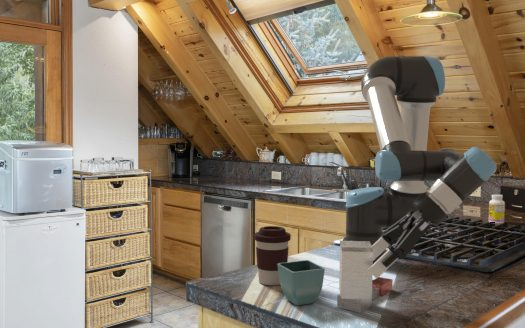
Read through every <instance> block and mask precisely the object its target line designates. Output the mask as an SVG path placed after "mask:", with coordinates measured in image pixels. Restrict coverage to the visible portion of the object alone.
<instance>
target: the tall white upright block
mask: <svg viewBox="0 0 525 328" xmlns="http://www.w3.org/2000/svg"><path fill="white" fill-rule="evenodd" d="M372 265H373V247H372V245H371V243H370V242H369V241H344V240H339V281H338V283H339V285H338V286H339V287H338V290H339V294H340V295H341V298H342V299H371V300H372V280H373V275H372V274H371V273H370V272H369V271H368V269H369V268H370V267H371V266H372Z"/></svg>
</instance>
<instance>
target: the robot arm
mask: <svg viewBox="0 0 525 328" xmlns="http://www.w3.org/2000/svg"><path fill="white" fill-rule="evenodd" d="M360 83H361V84H360V86H361V87H360V88H361V90H360V91H361V94H362V97H363V99H364V101H366V102H367V103H368V107H369V112H370V116H371V119H372V122H373V126H374V131H375V133H376V138H377V142H378V146H379V151H377V153H376V154H375V159H374V168H375V169H374V170H375V174H376V177H377V179H378V180H380V181H387V182H392V183H391V184H390V186H389V187H390V188H389V191H385V190H384V188H383V187H381V186H371V187H361V188H356V189H352V190H350V191H348V193H347V195H346V201H345V210H346V211H345V237H344V240H343V241H369V242H370V243H371V245H372V247H373V265H372V266H371V267H370V268H369V269H368V271H369V272H370V273H371V274H372V277H374V279H377V278H378V277H381V276H382V275H383V274H384V273H385V272H386V271H387V270H388V269H389V268H390V267H392V265H394V264H395V263H396V262H397V261H398V260H399V259H402V260H403V259H405V258H406V257H407V256H408V255H409V253H410V252H411V251H412V249H413V248H414V247H415V246H416V244H417V243H418V242H419V241H420V239H421V238H422V237H423V235H425V233H427V231H429V230H430V229H431V225H429V224H430V223H431V224H432V225H433V226H435V227H437V226H439V225H440V224H441V223H442V222H443V221H444V220H446V218H447V217H448V215H447V214H451V213H453V212H454V211H455V209H457V210H459V209H460V208H461V206H460V205H461V204H462V203H464V201H465V200H467V199H468V198H469V197H470V196H471V195H472V194H473V193H475V191H477V190H478V189H479V188H480V187H481V186H482V185H483V184H485V183H486V182H488V180H489V178H491V176H492V175H493V174H494V173H495V172H496V171H497V164H496V162H495V160H494V159H493V158H492V157H490V155H488V154H487V152H485V151H483V150H482V149H481V148H479V147H477V146H473V147H470V149H468V150H466V151H465V152H464V153H460V152H459V151H457V150H455V149H452V148H450V149H449V148H441V149H439V150H427V148H428V137H429V125H430V124H429V123H430V114H431V113H430V112H431V108H432V107H433V106H434V105H435V104H436V102H437V97H441V95H443V94H444V90H445V87H446V74H445V69H444V66H443V63H442V62H441V60H440V59H439V58H437V57H434V56H425V55H423V56H422V55H420V56H419V55H417V56H410V55H409V56H407V55H406V56H402V55H401V56H394V55H393V56H392V55H389V56H383V57H380V58H378V59H377V60H375V61H374V62H372V63H371V64H370V66H369V67H368V68H366V70H365V72H364V74H363V76H362V79H361V82H360ZM398 104H399V105H400V108H399V106H398ZM425 182H432V183H431V184H430V185H429V186H427V185H426V184H425ZM384 229H385V230H384ZM383 230H384V231H383ZM395 241H396V242H395ZM394 242H395V244H394ZM387 249H388V250H387Z"/></svg>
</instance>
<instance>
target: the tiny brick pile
mask: <svg viewBox="0 0 525 328" xmlns="http://www.w3.org/2000/svg"><path fill="white" fill-rule="evenodd" d="M391 291H393V279H391V278H386V277H381V276H379V277H378V278H377V279H376V278H374V279H372V300H371V299H342V298H341V295H340V293H338V294H337V296H336V308H337V307H339V308H338V309H341V308H344V309H343V310H346V309H347V310H346V311H350V310H352V311H351V312H354V311H355V312H354V313H358V312H359V313H358V314H361V313H363V312H364V311H366V310H367V309H369V308H371V307H372V302H373V301H375V300H376V299H378V298H380V297H383V296H385V295H386V294H388V293H390V292H391Z"/></svg>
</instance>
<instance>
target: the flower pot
mask: <svg viewBox="0 0 525 328" xmlns="http://www.w3.org/2000/svg"><path fill="white" fill-rule="evenodd" d="M277 265H278V273H279V281H280V285H279V286H280V288H281V290H282V293H283V295H284V296H285V298H286V301H287V300H288V301H289V302H290V303H292V304H293V305H294V306H301V305H309V304H314V303H315V302H316V301H317V299H318V298H319V296H320V295H321V292H322V290H323V284H324V277H325V270H326V269H325V267H323V266H321V265H319V264H317V263H314V262H313V261H311V260H308V259H304V260H295V261H287V262H286V263H278V264H277Z"/></svg>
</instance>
